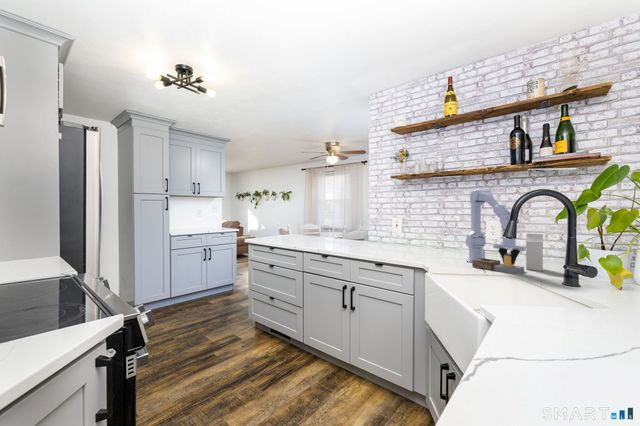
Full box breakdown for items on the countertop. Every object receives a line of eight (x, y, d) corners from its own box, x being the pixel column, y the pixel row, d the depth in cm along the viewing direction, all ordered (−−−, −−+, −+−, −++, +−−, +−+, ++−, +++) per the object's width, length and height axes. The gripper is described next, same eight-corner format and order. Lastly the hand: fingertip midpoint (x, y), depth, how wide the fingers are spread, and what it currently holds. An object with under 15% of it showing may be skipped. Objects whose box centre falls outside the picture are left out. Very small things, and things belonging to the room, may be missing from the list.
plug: (506, 268, 153) (506, 253, 153) (513, 269, 151) (513, 254, 151) (503, 269, 152) (503, 253, 152) (510, 270, 149) (510, 254, 149)
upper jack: (481, 265, 168) (481, 258, 168) (500, 267, 159) (500, 260, 159) (472, 266, 162) (472, 259, 162) (490, 270, 154) (490, 262, 154)
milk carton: (542, 271, 150) (543, 234, 150) (526, 269, 155) (526, 234, 154) (542, 268, 156) (542, 233, 156) (526, 267, 160) (526, 233, 160)
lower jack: (503, 268, 158) (503, 263, 158) (524, 271, 150) (524, 266, 150) (493, 270, 153) (493, 265, 153) (515, 274, 144) (515, 269, 144)
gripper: (490, 236, 155) (490, 262, 155) (521, 239, 143) (521, 266, 143) (497, 236, 159) (497, 260, 159) (527, 238, 147) (527, 264, 147)
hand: (508, 263), depth 151 cm, fingers closed on plug, 3 cm apart
